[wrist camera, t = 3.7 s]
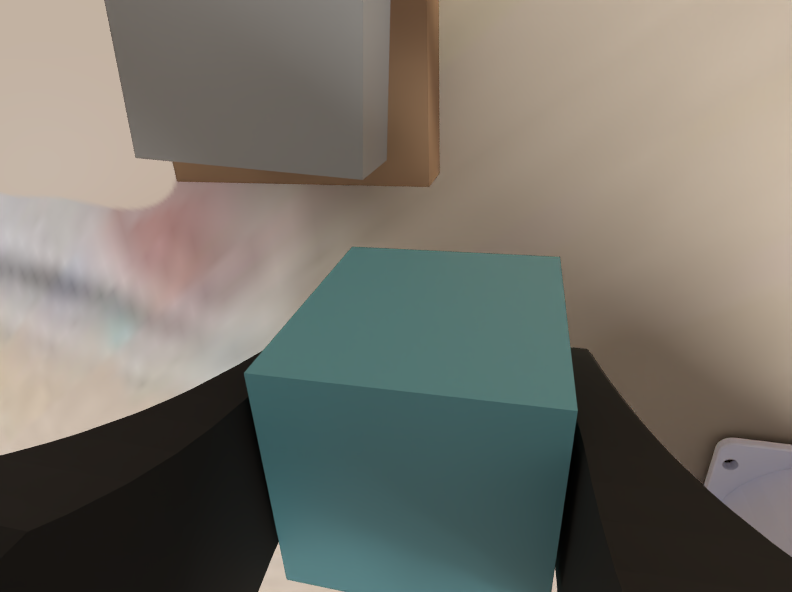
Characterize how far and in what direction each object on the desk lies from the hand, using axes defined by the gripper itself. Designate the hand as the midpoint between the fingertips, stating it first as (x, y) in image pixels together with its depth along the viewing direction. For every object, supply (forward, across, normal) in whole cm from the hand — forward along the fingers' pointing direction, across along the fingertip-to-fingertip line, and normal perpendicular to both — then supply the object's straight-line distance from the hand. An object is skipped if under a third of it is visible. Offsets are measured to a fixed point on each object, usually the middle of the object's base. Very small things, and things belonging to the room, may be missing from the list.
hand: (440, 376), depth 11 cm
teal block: (+1, 0, 0) cm, 1 cm away
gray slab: (+7, +6, -7) cm, 11 cm away
